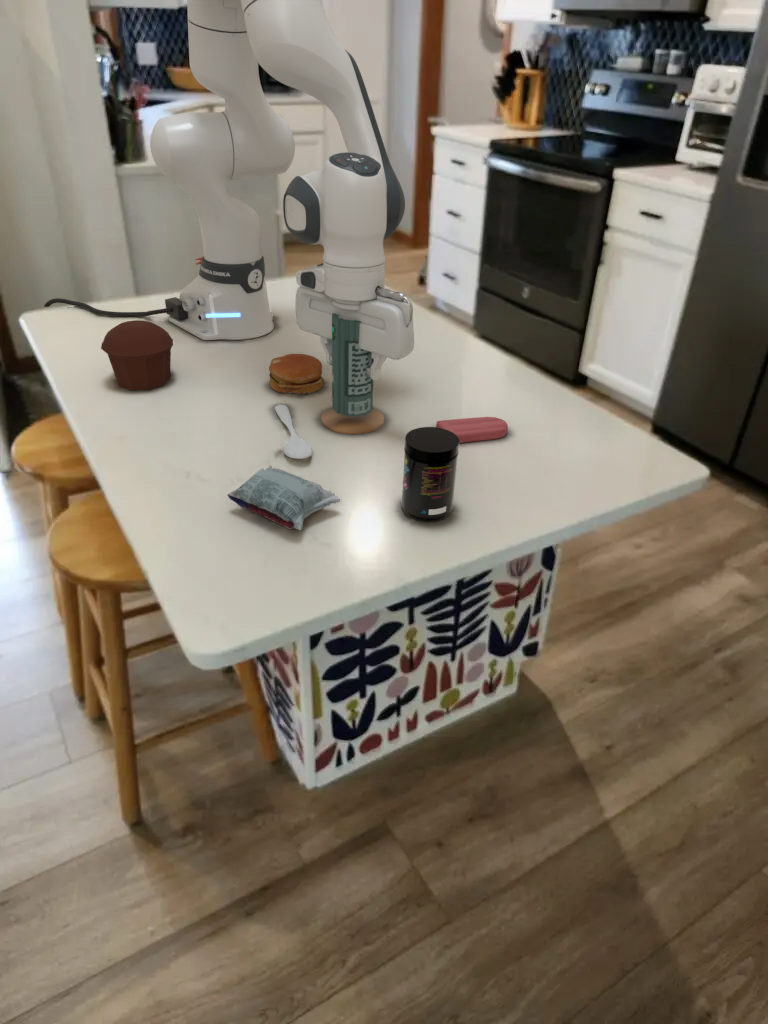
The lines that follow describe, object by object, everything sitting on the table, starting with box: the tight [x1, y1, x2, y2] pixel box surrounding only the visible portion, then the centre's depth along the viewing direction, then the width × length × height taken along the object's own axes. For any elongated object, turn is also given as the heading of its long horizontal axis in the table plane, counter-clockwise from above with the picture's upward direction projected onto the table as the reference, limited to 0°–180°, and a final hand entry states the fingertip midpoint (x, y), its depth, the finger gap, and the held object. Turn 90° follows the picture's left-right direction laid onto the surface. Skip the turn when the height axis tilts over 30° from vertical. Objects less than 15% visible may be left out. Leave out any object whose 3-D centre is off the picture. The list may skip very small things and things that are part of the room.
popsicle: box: [435, 416, 509, 444], centre depth 115 cm, size 5×2×15 cm
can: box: [331, 313, 375, 417], centre depth 113 cm, size 6×6×15 cm
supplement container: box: [401, 426, 460, 523], centre depth 94 cm, size 7×7×10 cm
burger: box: [268, 353, 324, 395], centre depth 128 cm, size 10×9×5 cm
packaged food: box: [227, 464, 341, 532], centre depth 94 cm, size 9×12×5 cm
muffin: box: [100, 319, 174, 391], centre depth 126 cm, size 12×11×10 cm
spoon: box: [274, 404, 313, 460], centre depth 113 cm, size 4×21×2 cm, turn 16°
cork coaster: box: [320, 407, 385, 435], centre depth 118 cm, size 10×10×1 cm
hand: (352, 371), depth 114 cm, fingers closed on can, 6 cm apart
